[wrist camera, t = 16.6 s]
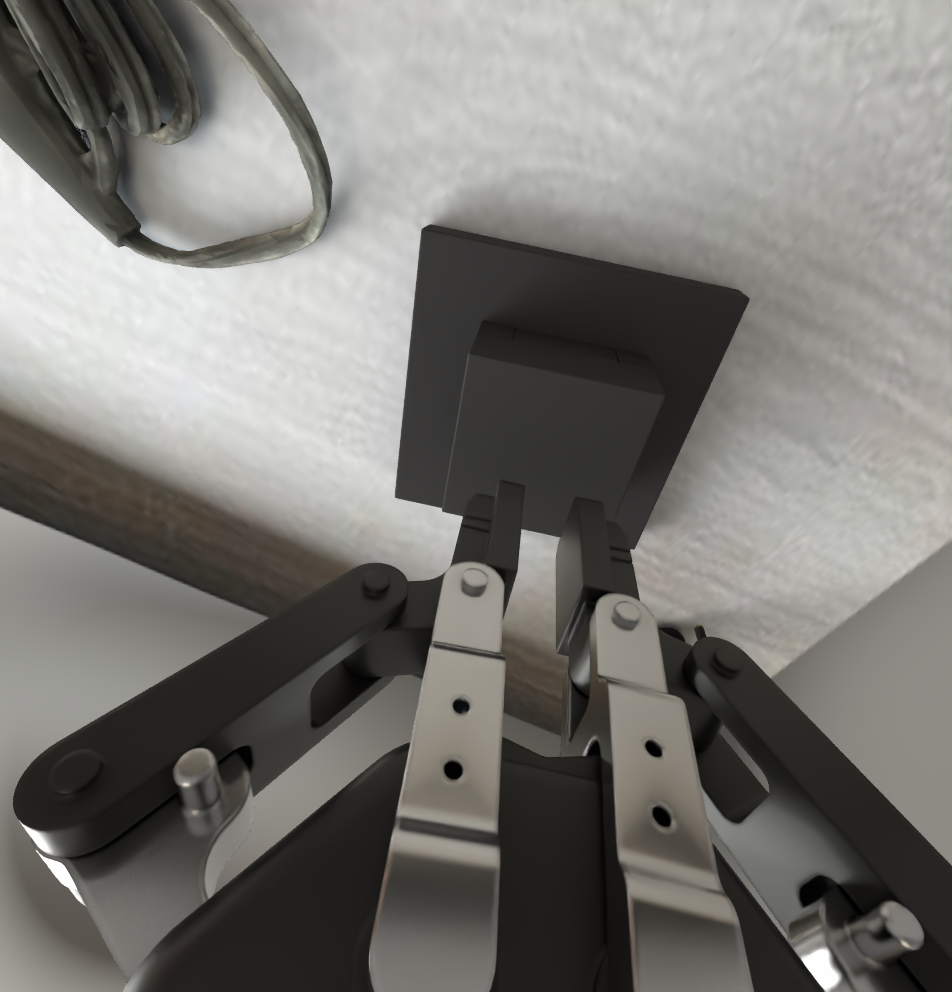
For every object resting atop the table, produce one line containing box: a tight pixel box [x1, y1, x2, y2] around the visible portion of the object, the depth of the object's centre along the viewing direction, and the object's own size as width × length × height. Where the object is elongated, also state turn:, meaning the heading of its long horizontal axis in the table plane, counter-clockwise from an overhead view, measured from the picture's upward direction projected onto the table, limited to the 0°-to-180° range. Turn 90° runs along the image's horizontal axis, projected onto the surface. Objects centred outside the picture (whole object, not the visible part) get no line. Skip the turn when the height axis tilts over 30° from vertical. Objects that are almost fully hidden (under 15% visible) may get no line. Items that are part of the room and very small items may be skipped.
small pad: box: [442, 320, 665, 537], centre depth 18 cm, size 6×6×4 cm
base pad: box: [395, 224, 750, 549], centre depth 20 cm, size 11×11×3 cm
